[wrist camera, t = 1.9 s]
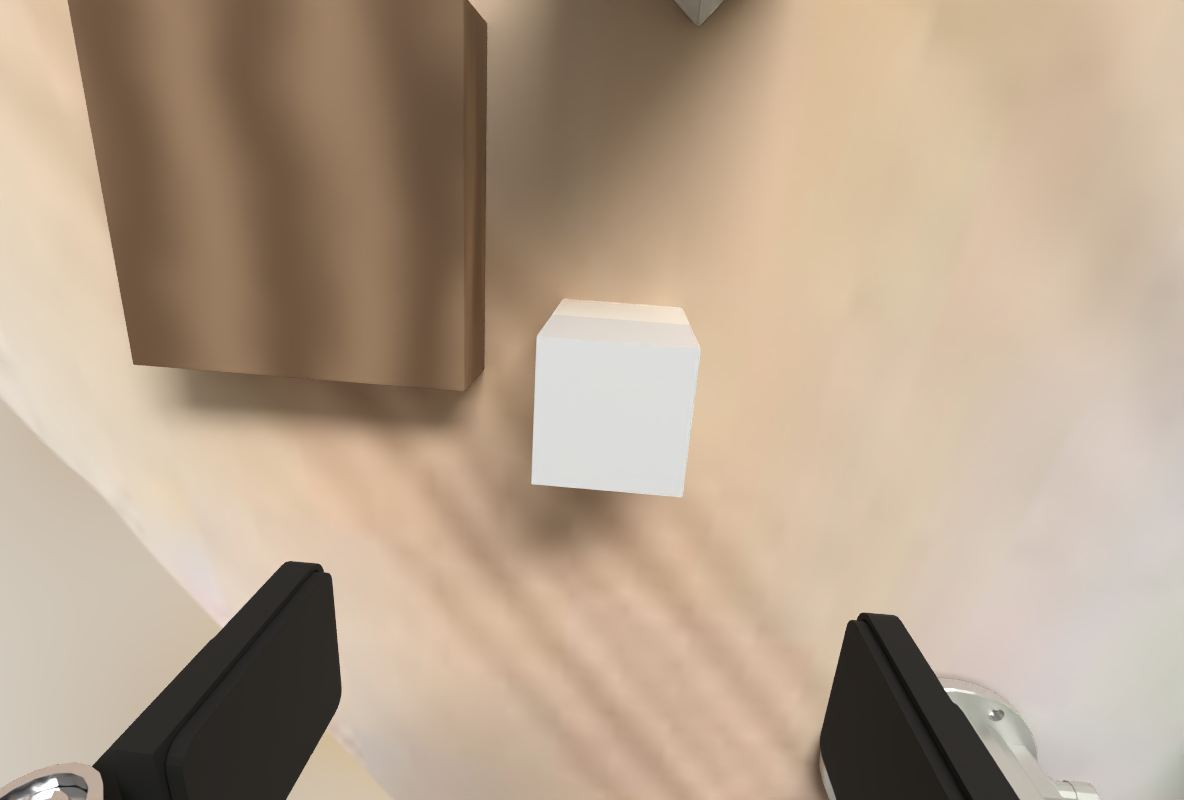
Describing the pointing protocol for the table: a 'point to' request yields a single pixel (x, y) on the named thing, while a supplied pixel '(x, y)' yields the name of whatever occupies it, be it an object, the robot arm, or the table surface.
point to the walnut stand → (294, 183)
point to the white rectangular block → (614, 397)
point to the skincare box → (698, 9)
